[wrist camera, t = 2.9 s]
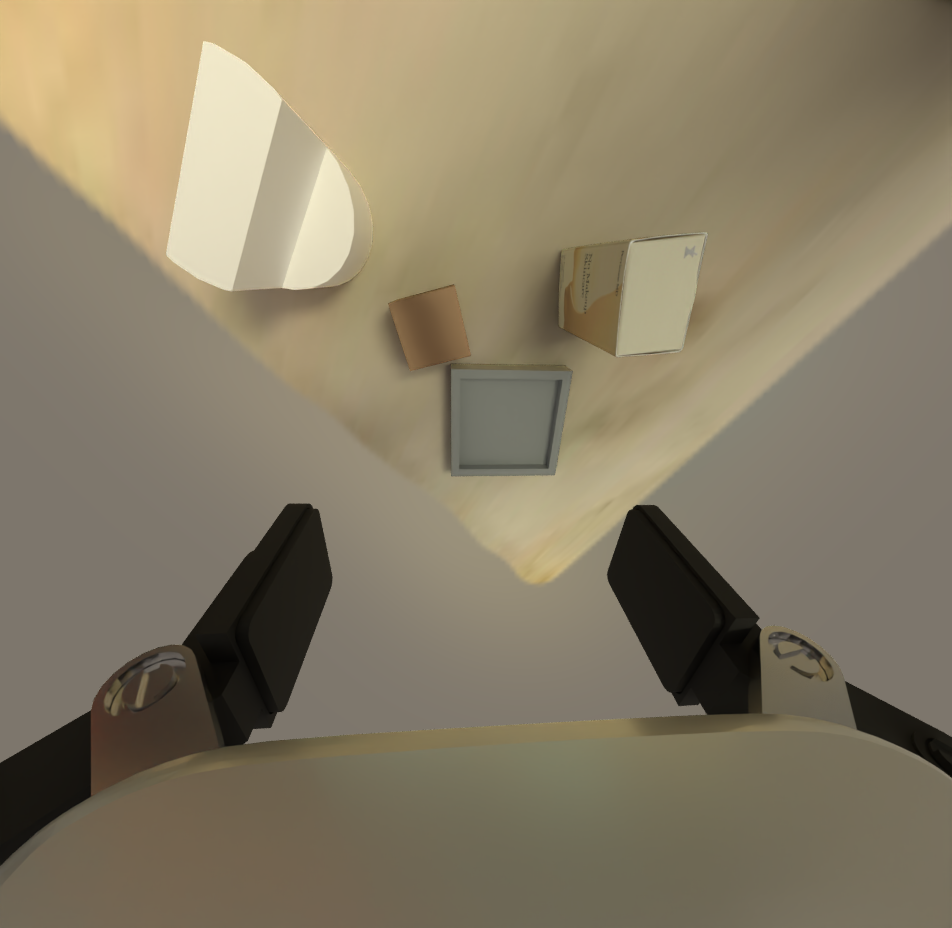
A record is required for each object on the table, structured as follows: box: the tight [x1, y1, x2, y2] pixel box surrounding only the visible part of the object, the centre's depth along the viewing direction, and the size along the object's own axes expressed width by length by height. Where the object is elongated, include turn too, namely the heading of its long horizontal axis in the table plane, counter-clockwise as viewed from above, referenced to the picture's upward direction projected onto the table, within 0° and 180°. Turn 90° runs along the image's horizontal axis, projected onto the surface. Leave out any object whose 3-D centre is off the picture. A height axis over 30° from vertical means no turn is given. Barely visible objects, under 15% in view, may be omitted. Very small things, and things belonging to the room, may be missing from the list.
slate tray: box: [451, 364, 573, 476], centre depth 34 cm, size 11×11×2 cm
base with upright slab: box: [166, 41, 373, 291], centre depth 20 cm, size 9×9×12 cm
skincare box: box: [559, 232, 708, 357], centre depth 24 cm, size 6×4×12 cm
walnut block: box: [388, 285, 471, 371], centre depth 28 cm, size 5×5×5 cm
